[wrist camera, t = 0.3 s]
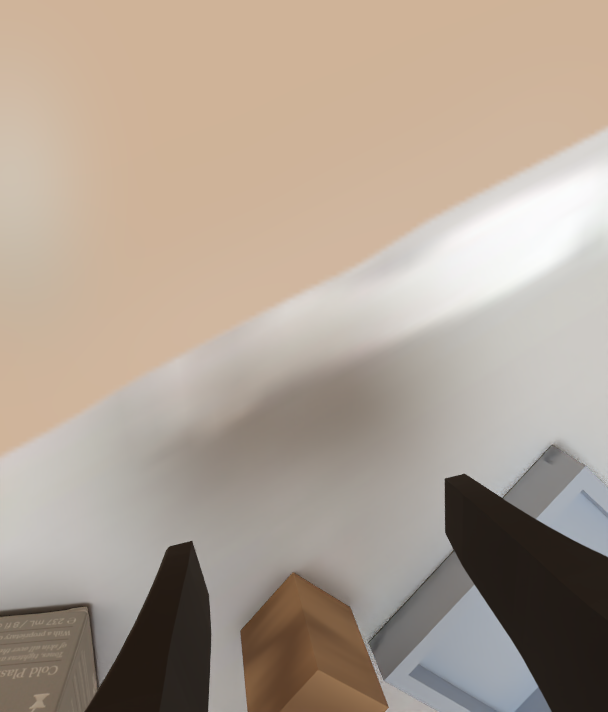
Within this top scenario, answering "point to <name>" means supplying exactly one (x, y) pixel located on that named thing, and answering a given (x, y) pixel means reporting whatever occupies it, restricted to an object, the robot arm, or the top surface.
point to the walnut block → (307, 655)
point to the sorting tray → (486, 607)
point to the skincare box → (47, 662)
